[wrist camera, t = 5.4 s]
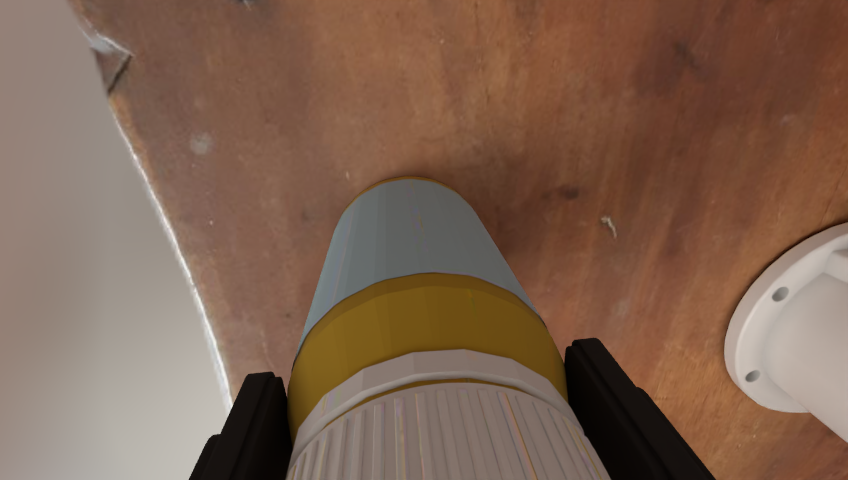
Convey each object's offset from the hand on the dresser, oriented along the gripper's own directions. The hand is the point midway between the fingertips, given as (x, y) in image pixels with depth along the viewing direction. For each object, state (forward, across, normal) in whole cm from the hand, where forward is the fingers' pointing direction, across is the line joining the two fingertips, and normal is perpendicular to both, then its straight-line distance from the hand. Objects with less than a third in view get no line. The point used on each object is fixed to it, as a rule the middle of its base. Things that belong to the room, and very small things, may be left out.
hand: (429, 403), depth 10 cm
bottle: (+10, 0, 0) cm, 10 cm away
